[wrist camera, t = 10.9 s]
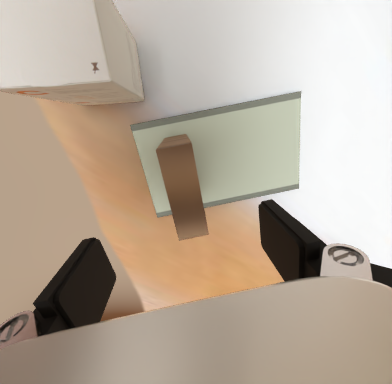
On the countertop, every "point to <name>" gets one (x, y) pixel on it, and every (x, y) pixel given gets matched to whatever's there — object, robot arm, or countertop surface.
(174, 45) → the countertop surface
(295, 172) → the mat
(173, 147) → the slab
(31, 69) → the small box
